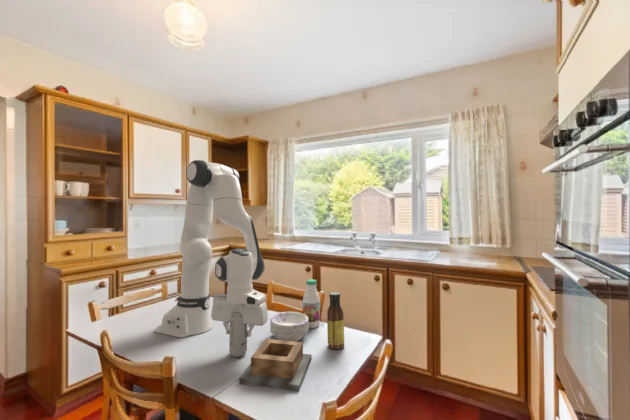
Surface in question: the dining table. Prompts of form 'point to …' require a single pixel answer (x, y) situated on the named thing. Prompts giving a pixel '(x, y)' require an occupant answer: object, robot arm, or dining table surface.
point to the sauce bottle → (335, 322)
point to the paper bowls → (289, 326)
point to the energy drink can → (237, 335)
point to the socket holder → (277, 365)
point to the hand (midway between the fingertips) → (238, 335)
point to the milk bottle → (311, 304)
